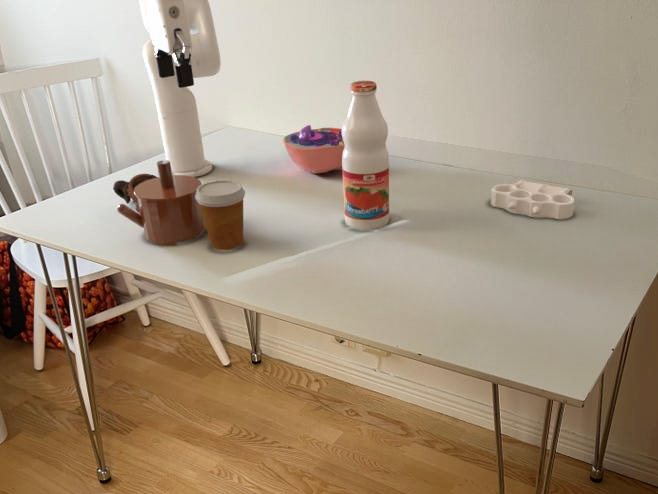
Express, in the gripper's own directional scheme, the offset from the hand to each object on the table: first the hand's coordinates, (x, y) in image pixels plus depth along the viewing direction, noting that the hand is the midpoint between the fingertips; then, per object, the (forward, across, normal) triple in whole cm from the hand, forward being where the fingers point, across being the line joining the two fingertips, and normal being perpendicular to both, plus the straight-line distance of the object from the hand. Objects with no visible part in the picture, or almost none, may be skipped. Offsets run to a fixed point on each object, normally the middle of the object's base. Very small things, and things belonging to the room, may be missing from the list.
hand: (176, 81), depth 142 cm
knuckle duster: (+27, -45, -59) cm, 79 cm away
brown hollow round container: (+27, -9, +9) cm, 30 cm away
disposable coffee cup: (+27, -22, +3) cm, 35 cm away
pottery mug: (+28, +10, +9) cm, 31 cm away
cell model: (+28, +3, -36) cm, 46 cm away
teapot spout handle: (+25, -9, +9) cm, 28 cm away
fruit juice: (+27, -30, -26) cm, 48 cm away
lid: (+18, -9, +9) cm, 22 cm away
